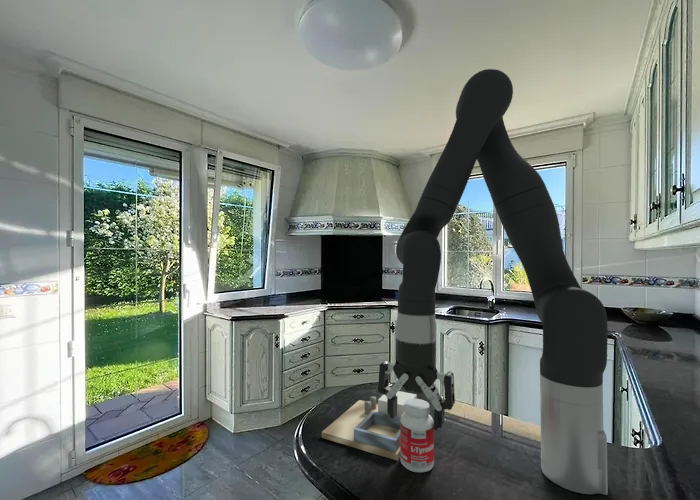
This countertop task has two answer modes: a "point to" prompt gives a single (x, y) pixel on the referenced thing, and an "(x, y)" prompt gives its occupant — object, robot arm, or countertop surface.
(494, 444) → the countertop surface
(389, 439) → the base board
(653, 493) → the countertop surface
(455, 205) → the robot arm
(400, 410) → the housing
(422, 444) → the pill bottle
